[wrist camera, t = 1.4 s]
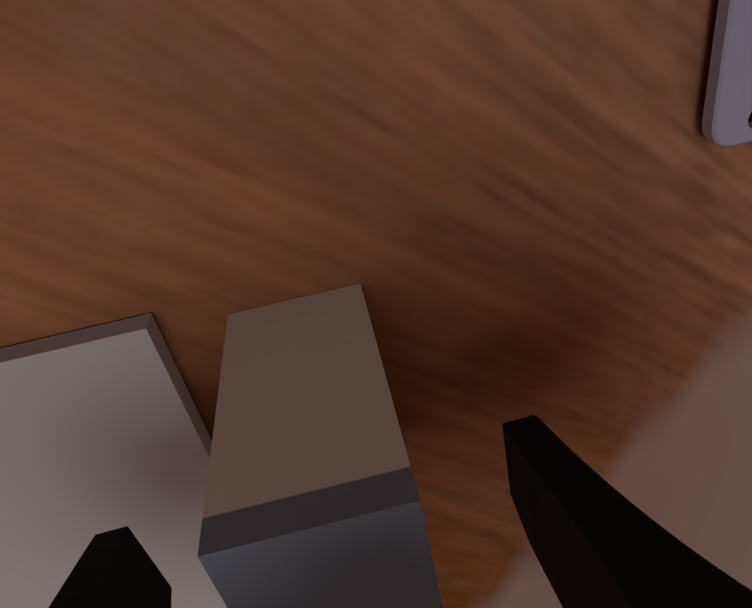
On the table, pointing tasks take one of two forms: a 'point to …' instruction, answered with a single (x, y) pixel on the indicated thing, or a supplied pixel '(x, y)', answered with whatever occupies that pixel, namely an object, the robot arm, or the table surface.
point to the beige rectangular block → (311, 466)
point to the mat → (99, 460)
